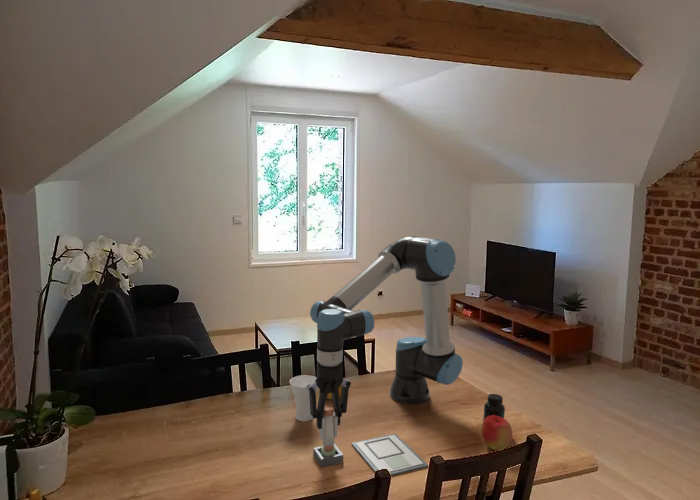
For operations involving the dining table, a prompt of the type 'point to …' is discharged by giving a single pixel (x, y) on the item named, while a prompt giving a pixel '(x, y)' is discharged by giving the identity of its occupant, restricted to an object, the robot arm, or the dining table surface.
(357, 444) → the grey rectangular board
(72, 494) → the dining table surface
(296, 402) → the cup
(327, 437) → the marker
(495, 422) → the apple
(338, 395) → the fruit
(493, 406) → the supplement bottle
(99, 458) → the dining table surface
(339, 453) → the button housing
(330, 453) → the button
